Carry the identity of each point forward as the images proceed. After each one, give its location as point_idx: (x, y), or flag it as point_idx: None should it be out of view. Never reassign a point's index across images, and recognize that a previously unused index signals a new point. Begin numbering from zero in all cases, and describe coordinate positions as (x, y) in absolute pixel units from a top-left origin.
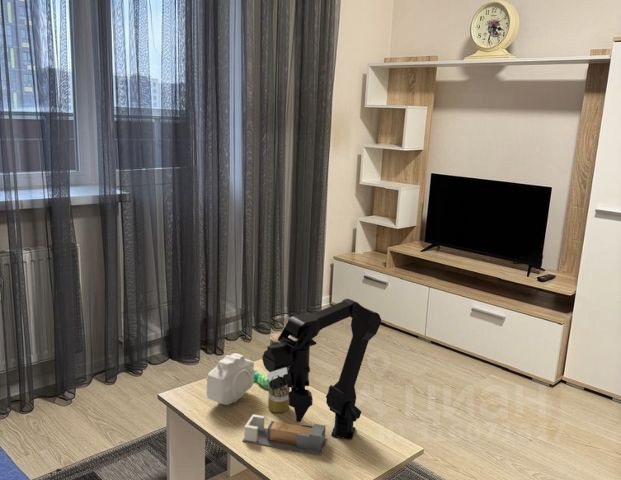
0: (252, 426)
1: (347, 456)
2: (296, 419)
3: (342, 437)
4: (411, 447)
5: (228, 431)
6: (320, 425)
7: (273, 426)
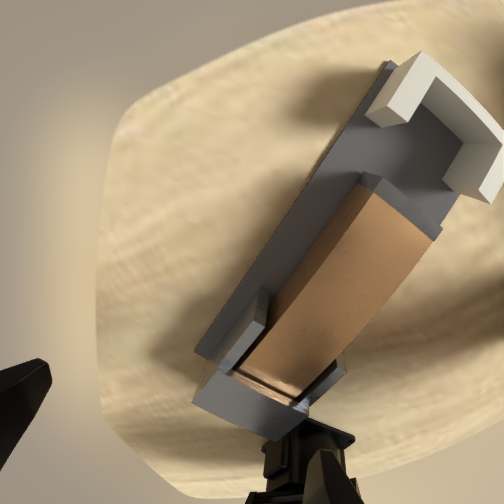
0: (417, 92)
1: (179, 408)
2: (16, 366)
3: None
4: (199, 497)
5: (469, 44)
6: (282, 429)
7: (388, 219)
